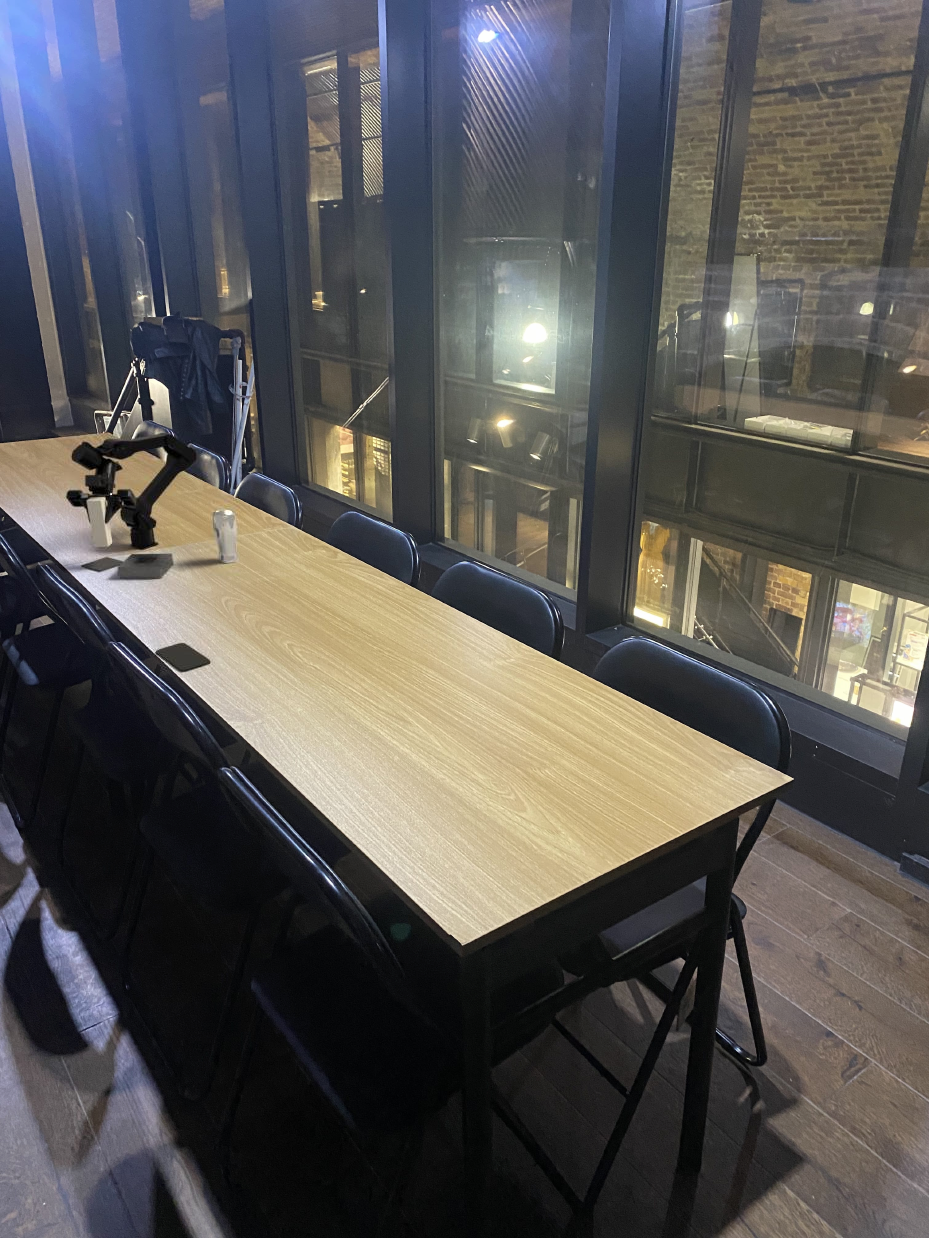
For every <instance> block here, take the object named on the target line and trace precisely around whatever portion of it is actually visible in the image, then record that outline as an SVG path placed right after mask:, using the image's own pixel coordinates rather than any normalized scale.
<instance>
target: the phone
mask: <svg viewBox="0 0 929 1238" xmlns="http://www.w3.org/2000/svg"><path fill="white" fill-rule="evenodd" d="M155 653H156V655H158V656H159V657H160V658H162V659H163V660H164V661H165V662H167V663H169V664H170V665H171V666H172V667H174V668H175V669H176V670H177V671H179V672H181V673H186V672H189V671H192V670H193V671H194V670H195V669H200V668H202V667H205V666H208V665H210V664H211V662H212V661H211V659H209V658H207V657H206V656H205V655H203V654H202V653H200V652H199V651H197V650H196V649H194V648H193V647H191V646H190V645H188V644H187V643H185V642H178V643H175V644H173V645H169V646H165V647H162V648H159V649H157V650H156V651H155Z"/></svg>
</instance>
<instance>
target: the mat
mask: <svg viewBox="0 0 929 1238" xmlns="http://www.w3.org/2000/svg"><path fill="white" fill-rule="evenodd" d="M124 561H125V560H120V559H116V558H113V557H109V556H105V557H102V558H99V559H96V560H92V561H90V562H86V563H83V564H81V565H80V567H81V568H84V569H88V570H91V571H95V572H99V573H101V572H104V571H108V570H110V569H113V568H116V567H117V568H118V566H119V565H120V564H121V563H123V562H124Z"/></svg>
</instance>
